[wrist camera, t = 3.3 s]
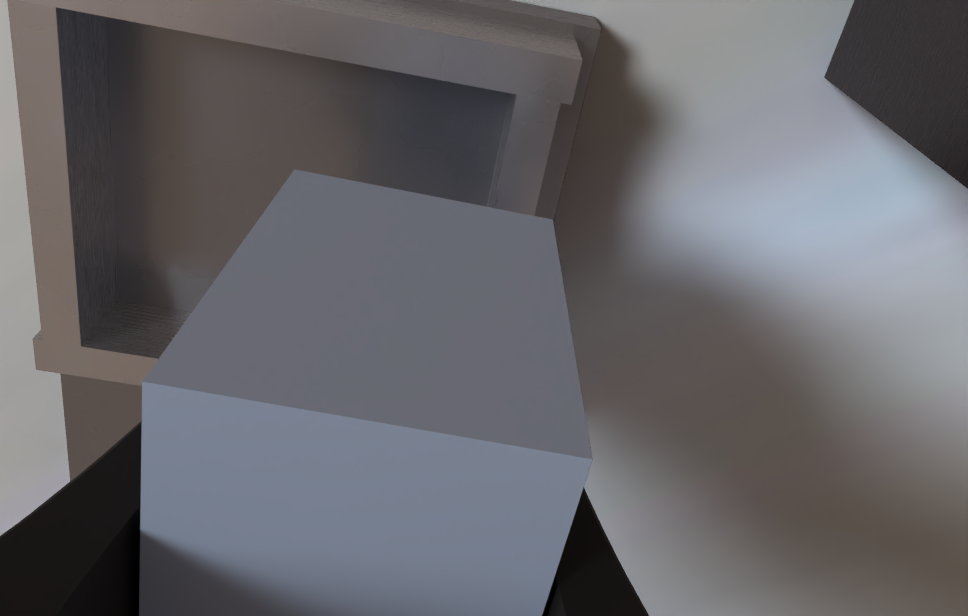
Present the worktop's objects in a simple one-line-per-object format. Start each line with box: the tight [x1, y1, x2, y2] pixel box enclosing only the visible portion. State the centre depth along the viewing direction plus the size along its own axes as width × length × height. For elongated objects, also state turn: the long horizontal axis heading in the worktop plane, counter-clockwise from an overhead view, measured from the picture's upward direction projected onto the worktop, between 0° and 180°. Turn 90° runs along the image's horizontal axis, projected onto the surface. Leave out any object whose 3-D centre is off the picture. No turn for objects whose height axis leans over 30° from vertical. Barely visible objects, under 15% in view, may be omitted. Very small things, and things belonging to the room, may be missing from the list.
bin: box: [8, 0, 601, 481], centre depth 19 cm, size 17×11×4 cm, turn 170°
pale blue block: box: [139, 169, 593, 616], centre depth 11 cm, size 5×4×6 cm
